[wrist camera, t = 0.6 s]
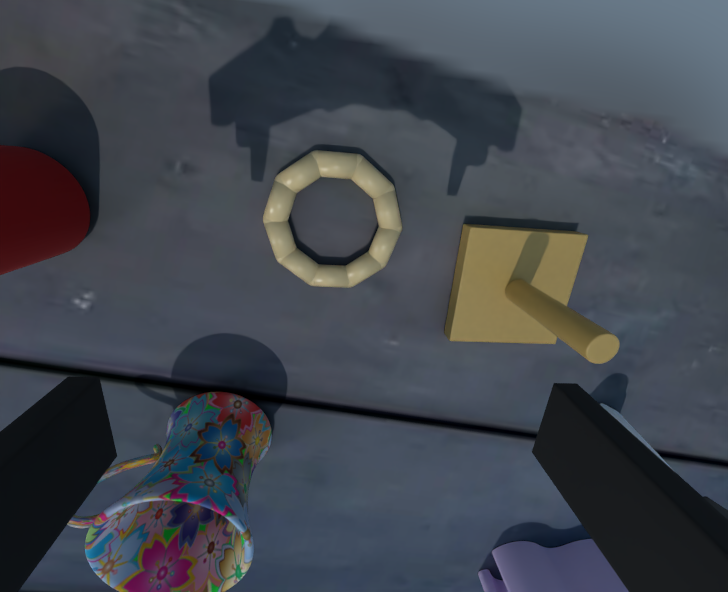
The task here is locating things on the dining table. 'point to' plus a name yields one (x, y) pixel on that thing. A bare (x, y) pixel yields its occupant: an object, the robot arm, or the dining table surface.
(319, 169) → the ring
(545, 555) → the clip
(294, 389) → the dining table surface
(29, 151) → the beverage can
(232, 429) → the mug
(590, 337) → the square plate with peg
